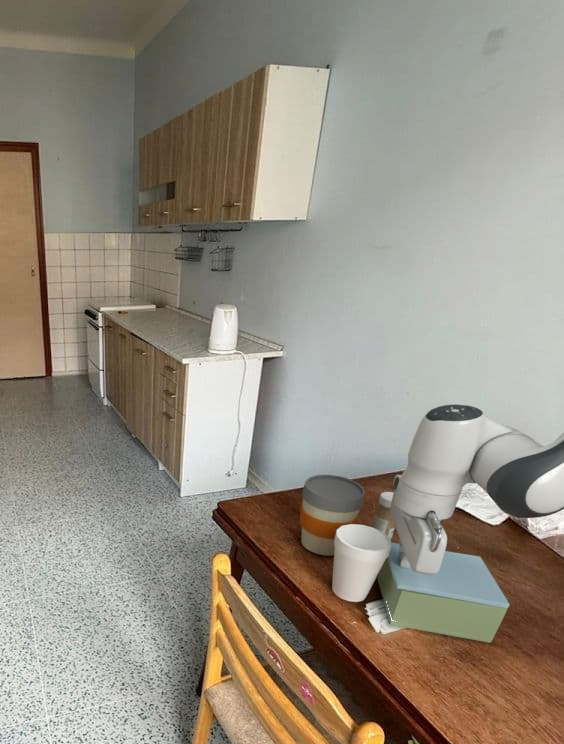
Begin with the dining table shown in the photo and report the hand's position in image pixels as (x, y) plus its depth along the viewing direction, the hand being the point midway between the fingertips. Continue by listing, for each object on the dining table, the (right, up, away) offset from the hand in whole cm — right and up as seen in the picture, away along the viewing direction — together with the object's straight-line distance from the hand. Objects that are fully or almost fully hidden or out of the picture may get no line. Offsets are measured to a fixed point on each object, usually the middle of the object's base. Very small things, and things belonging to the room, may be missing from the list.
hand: (403, 563), depth 87 cm
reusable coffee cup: (-6, +1, +22) cm, 23 cm away
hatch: (+6, -2, -1) cm, 6 cm away
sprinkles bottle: (+6, 0, +20) cm, 21 cm away
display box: (+6, -9, +3) cm, 11 cm away
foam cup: (-7, -7, +7) cm, 12 cm away
